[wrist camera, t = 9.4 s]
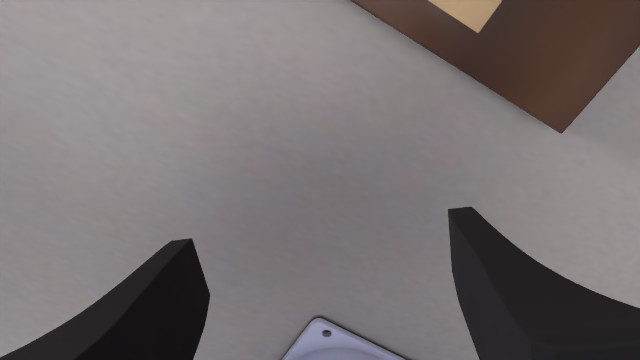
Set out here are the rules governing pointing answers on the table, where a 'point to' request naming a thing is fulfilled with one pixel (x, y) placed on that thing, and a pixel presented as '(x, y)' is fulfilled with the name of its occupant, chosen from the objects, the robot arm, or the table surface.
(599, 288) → the table surface
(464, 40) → the cutting board
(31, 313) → the table surface
